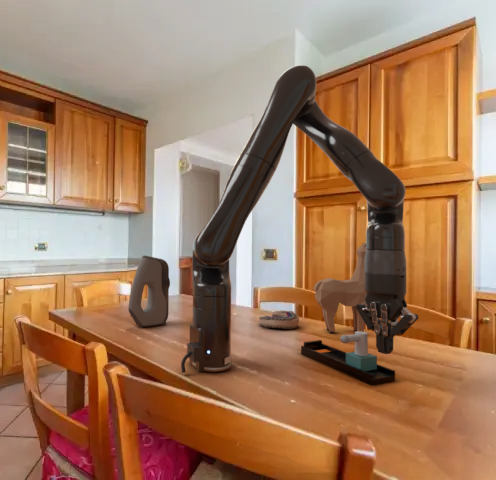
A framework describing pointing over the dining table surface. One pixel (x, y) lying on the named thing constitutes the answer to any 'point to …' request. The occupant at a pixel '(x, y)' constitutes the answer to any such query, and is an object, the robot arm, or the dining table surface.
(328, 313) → the toy
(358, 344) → the handle
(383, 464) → the dining table surface
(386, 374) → the rail
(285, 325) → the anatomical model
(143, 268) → the brown holed slab
